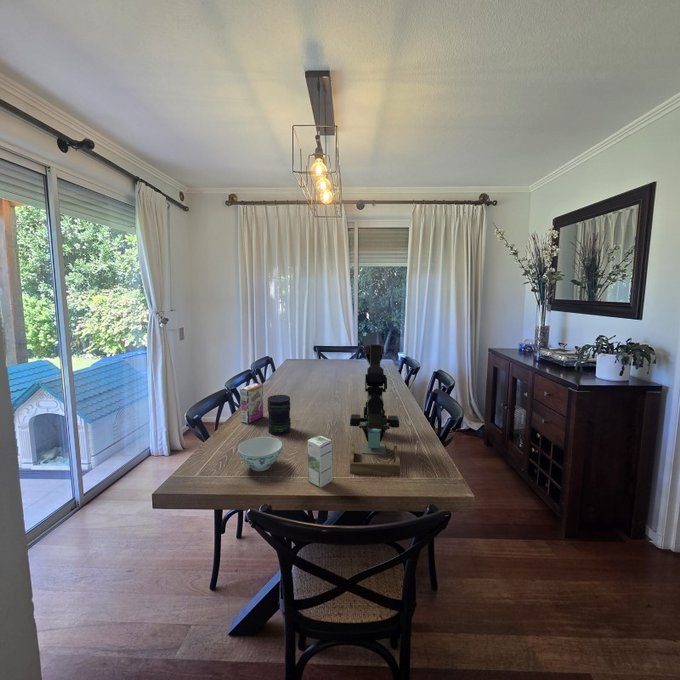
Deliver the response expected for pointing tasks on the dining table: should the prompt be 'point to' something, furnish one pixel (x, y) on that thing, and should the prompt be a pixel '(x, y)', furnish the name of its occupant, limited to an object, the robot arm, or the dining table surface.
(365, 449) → the grey rubber mat
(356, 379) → the dining table surface
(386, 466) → the walnut crate
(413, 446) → the dining table surface
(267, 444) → the chinaware
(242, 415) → the candy bar box
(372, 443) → the teal block
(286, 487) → the dining table surface
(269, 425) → the storage jar
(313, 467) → the syrup box
